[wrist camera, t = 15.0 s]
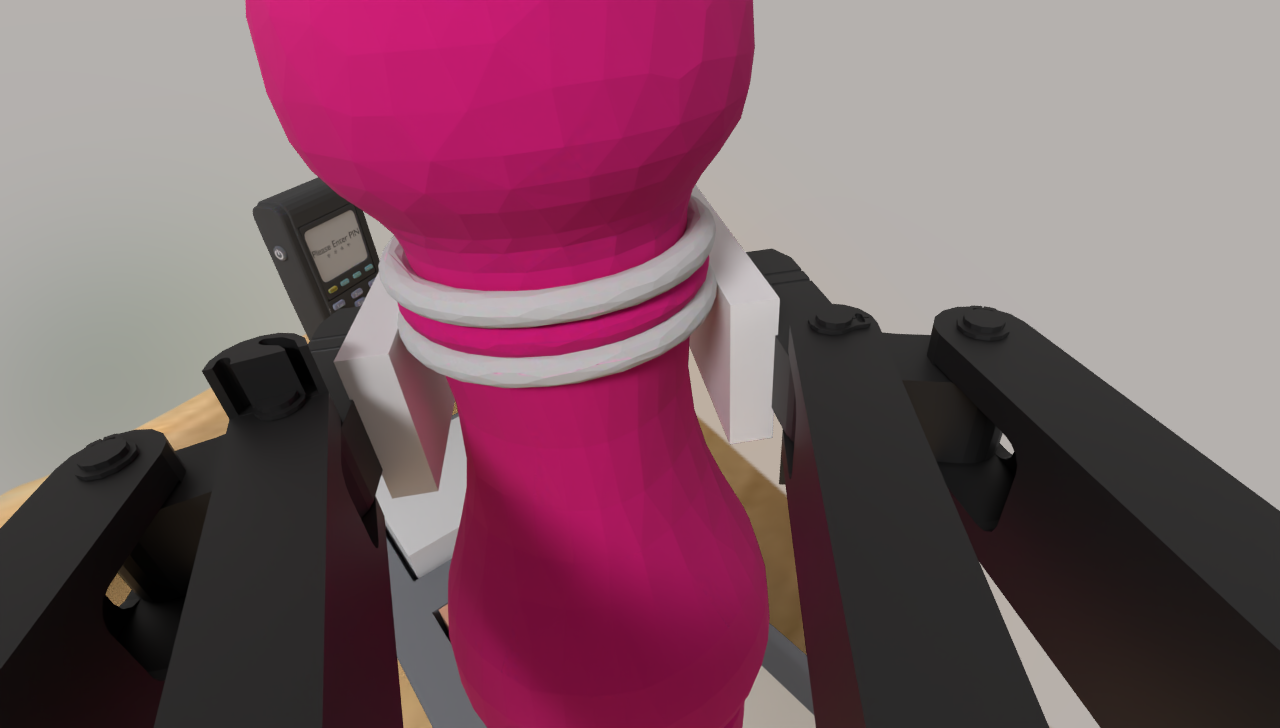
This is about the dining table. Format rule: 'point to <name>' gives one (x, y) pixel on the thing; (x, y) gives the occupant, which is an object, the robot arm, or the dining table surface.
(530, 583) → the pepper mill
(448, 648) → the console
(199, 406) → the dining table surface
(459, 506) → the key grey
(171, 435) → the dining table surface
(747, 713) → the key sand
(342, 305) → the card reader
